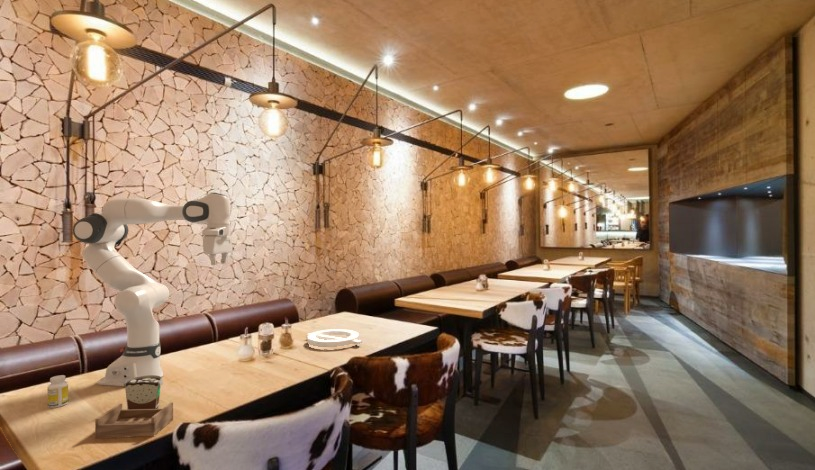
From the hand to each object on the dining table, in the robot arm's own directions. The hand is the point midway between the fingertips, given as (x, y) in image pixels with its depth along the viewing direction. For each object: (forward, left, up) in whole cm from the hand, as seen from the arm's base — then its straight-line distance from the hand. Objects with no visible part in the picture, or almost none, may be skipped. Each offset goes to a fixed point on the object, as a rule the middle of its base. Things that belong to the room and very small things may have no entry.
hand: (218, 264), depth 164 cm
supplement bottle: (-45, -25, -48) cm, 70 cm away
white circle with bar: (+41, +50, -48) cm, 81 cm away
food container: (-13, -28, -48) cm, 57 cm away
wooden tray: (-7, -44, -48) cm, 65 cm away
